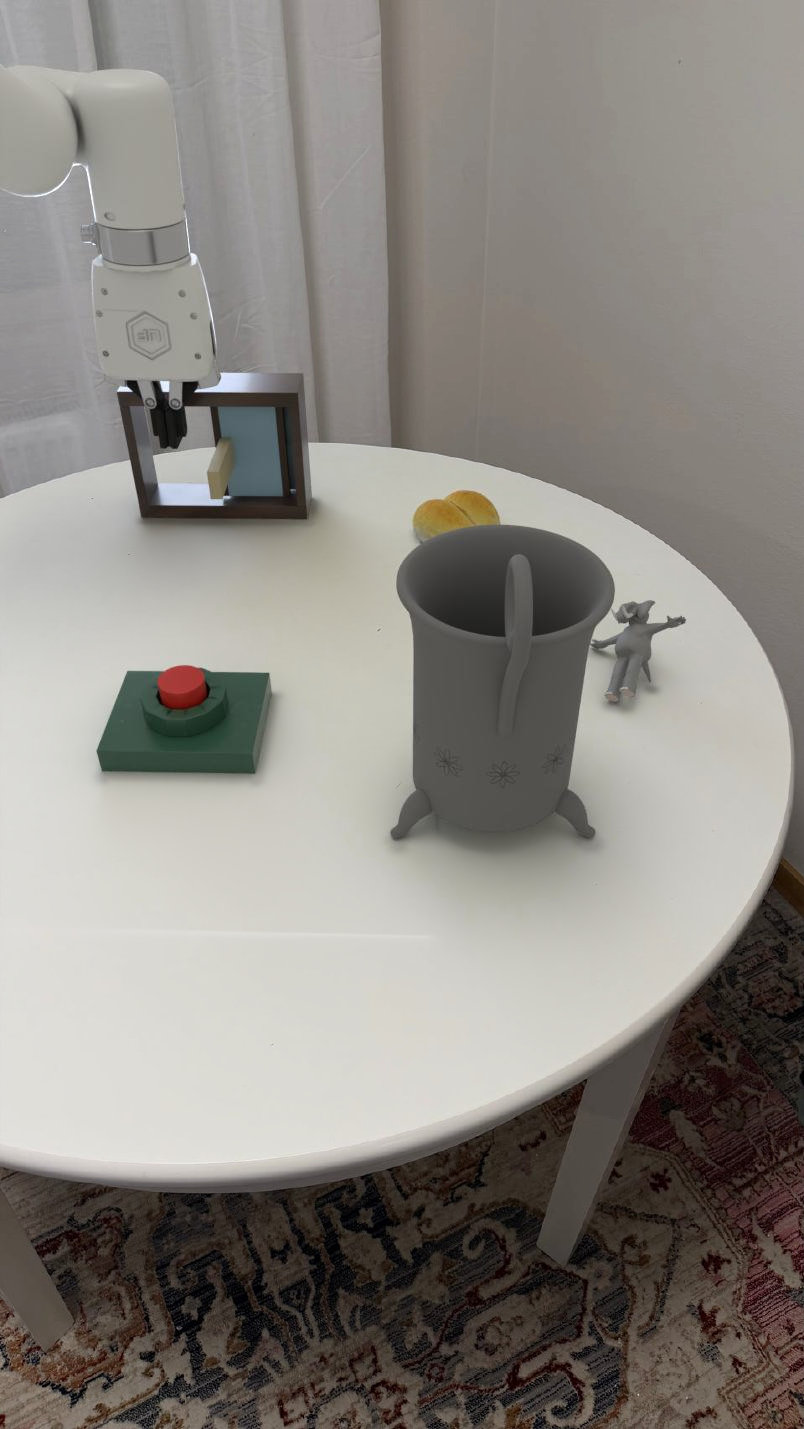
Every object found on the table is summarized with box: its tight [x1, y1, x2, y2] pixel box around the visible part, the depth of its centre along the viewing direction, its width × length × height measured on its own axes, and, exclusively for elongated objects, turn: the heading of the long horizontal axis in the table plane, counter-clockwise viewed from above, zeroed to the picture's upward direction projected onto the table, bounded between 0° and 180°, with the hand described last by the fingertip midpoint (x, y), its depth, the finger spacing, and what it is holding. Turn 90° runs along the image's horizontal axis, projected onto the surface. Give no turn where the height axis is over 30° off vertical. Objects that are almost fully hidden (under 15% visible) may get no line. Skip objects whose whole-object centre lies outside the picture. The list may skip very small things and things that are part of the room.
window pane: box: [206, 407, 291, 499], centre depth 102 cm, size 7×8×10 cm
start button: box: [158, 664, 207, 710], centre depth 79 cm, size 4×4×2 cm
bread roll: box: [412, 489, 502, 543], centre depth 104 cm, size 8×9×4 cm
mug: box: [389, 524, 616, 840], centre depth 67 cm, size 19×15×25 cm
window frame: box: [116, 372, 313, 520], centre depth 105 cm, size 18×5×14 cm, turn 88°
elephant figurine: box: [590, 599, 687, 703], centre depth 85 cm, size 10×6×9 cm
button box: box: [95, 667, 273, 775], centre depth 80 cm, size 12×10×4 cm
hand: (172, 442), depth 98 cm, fingers closed
